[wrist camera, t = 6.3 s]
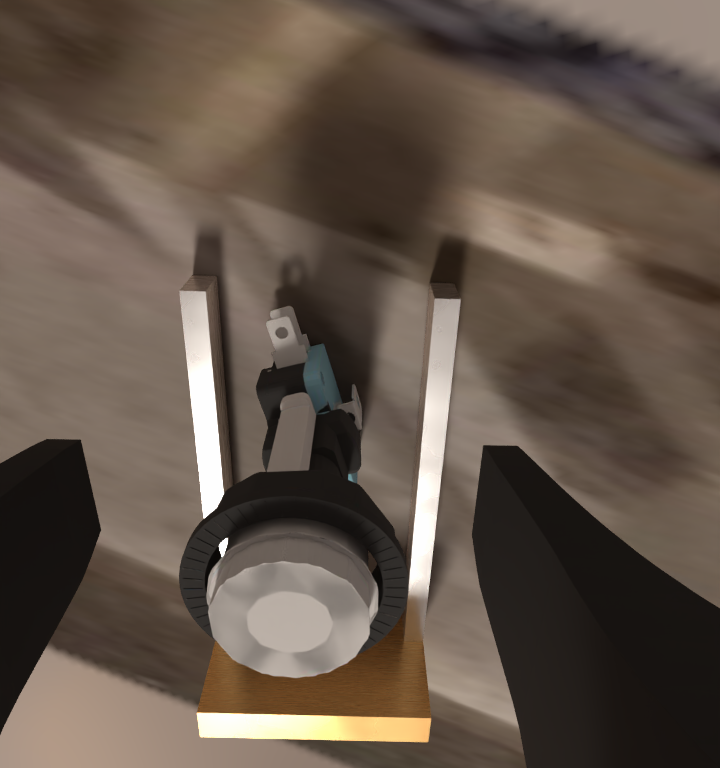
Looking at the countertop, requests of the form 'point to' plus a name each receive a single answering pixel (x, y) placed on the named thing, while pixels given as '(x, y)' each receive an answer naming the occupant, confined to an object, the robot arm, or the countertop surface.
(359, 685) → the rail
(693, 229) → the countertop surface
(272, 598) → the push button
